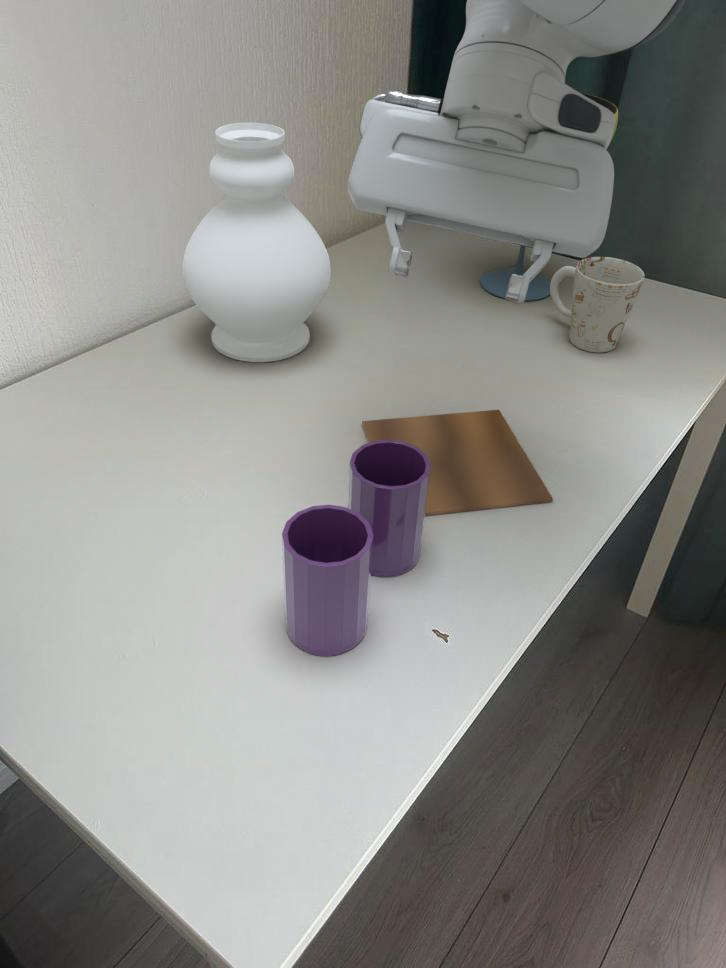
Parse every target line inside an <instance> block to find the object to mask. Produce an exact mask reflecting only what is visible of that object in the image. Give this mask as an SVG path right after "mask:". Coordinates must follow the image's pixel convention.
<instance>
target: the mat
mask: <svg viewBox="0 0 726 968" xmlns="http://www.w3.org/2000/svg"><path fill="white" fill-rule="evenodd" d="M361 427H362V429H363V432H364V436H365V438H366V440H367V443H370V442H373V441H380V440H395V441H402V442H406V443H408V444H411V445H413V446H416V447H418V448H419V449H420V450H421V451H422V452H424V453H425V454H426V455H427V457H428V459H429V462H430V464H431V468H430V477H429V485H428V494H427V502H426V511H425V517H426V516H435V515H436V516H437V515H445V514H454V513H463V512H474V511H481V510H492V509H501V508H509V507H510V508H511V507H520V506H528V505H529V506H530V505H537V504H547V503H553V501H554V498H553V496H552V495H551V493H550V492H549V490H548V488H547V486H546V485H545V483H544V481H543V480H542V478H541V476H540V475H539V473H538V471H537V470H536V469H535V466H534V465H533V463H532V461H531V460H530V458H529V457H528V455H527V454H526V452H525V449H524V448H523V447H522V445H521V444H520V442H519V440H518V439H517V436H516V435H515V434H514V432H513V430H512V429H511V427H510V425H509V424H508V422H507V420H506V419H505V417H504V415H503V414H502V412H501V410H500V409H490V410H489V409H488V410H477V411H467V412H454V413H453V412H452V413H443V414H442V413H441V414H431V415H419V416H417V415H416V416H406V417H395V418H393V417H392V418H383V419H372V420H371V419H370V420H362V421H361Z"/></svg>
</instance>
